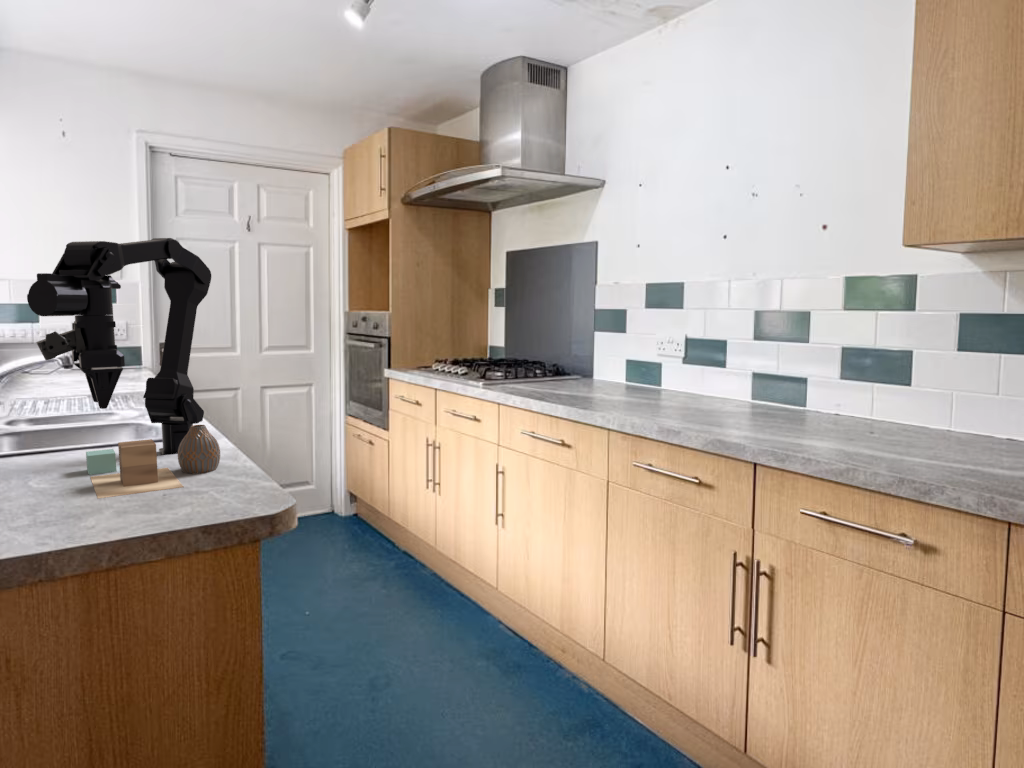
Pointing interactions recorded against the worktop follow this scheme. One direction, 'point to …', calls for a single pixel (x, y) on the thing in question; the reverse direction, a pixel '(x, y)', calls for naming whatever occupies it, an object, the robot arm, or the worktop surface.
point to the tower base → (138, 474)
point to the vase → (198, 451)
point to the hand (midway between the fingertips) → (100, 405)
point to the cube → (101, 461)
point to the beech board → (114, 486)
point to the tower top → (137, 453)
